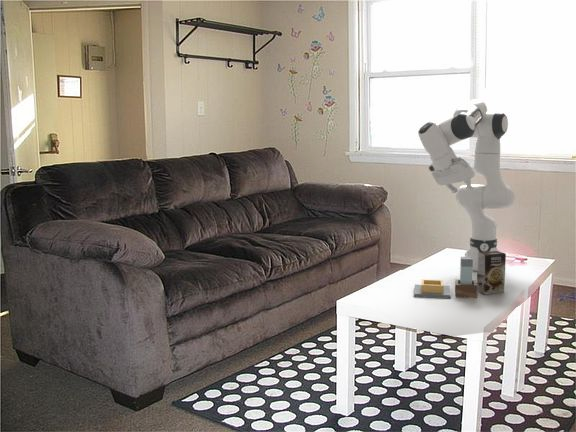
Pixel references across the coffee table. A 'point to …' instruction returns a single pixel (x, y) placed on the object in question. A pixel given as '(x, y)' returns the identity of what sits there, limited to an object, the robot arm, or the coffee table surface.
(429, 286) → the dock
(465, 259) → the plug
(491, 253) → the coffee box
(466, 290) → the box
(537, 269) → the coffee table surface
